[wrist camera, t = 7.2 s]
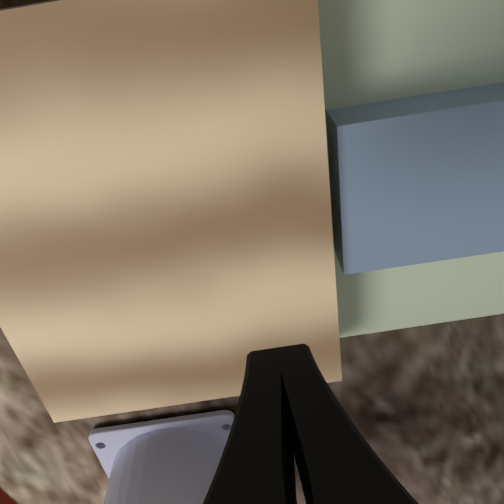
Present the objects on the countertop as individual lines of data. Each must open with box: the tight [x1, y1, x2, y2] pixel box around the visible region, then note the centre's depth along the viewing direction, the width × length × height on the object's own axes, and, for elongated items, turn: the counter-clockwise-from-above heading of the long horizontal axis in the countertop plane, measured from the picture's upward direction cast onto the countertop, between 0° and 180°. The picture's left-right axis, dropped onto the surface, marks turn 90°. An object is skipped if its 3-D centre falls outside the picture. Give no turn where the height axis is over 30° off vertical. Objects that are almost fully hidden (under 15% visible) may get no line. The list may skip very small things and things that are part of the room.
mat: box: [318, 0, 504, 338], centre depth 19 cm, size 16×12×1 cm
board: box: [0, 0, 342, 423], centre depth 18 cm, size 16×13×3 cm
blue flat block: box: [326, 82, 504, 275], centre depth 18 cm, size 6×9×2 cm, turn 98°
